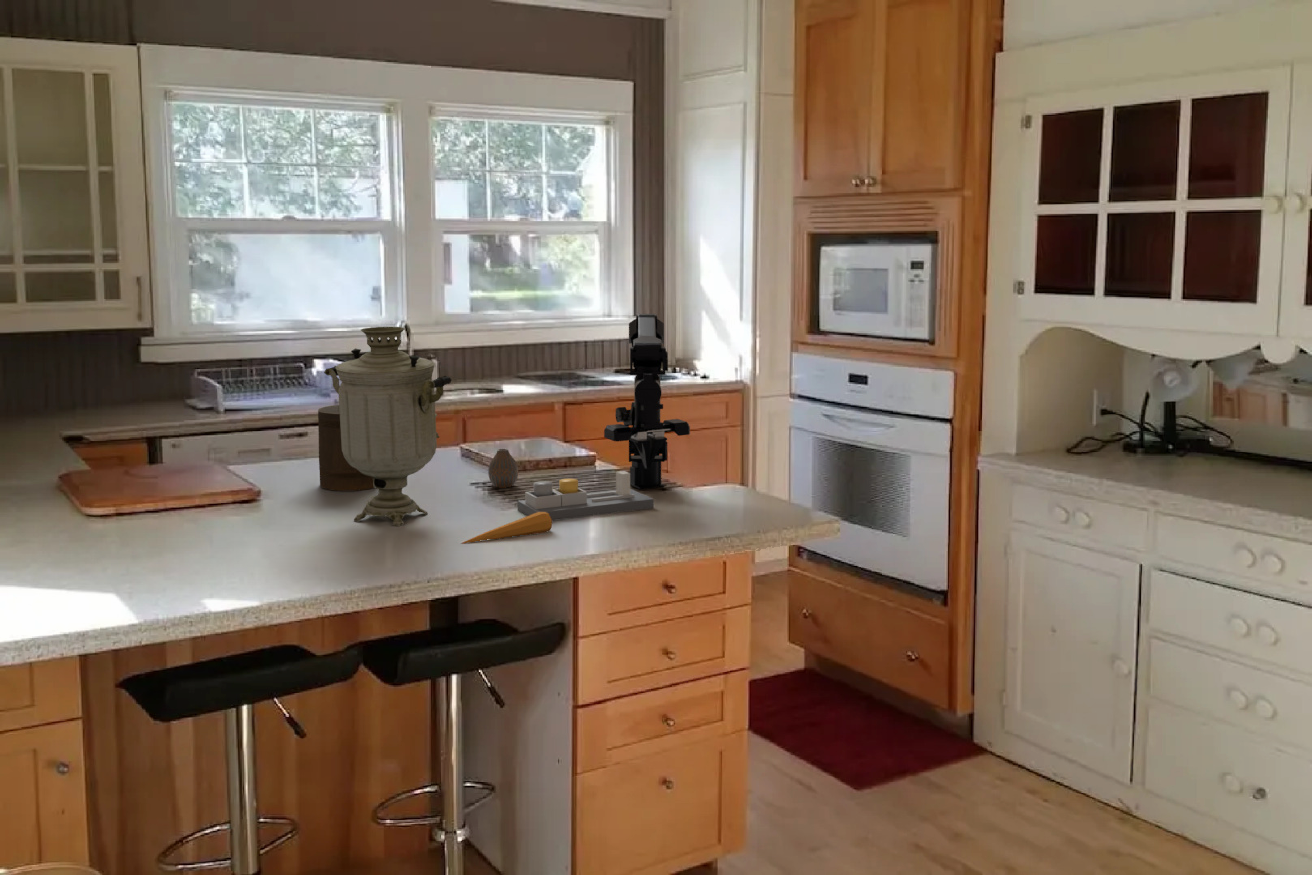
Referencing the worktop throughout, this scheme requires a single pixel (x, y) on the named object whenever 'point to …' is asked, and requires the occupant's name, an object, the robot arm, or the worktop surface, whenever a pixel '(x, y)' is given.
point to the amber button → (568, 486)
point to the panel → (583, 503)
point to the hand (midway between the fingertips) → (647, 468)
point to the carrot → (519, 527)
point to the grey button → (542, 488)
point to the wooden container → (336, 456)
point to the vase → (503, 469)
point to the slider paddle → (622, 483)
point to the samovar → (387, 418)
